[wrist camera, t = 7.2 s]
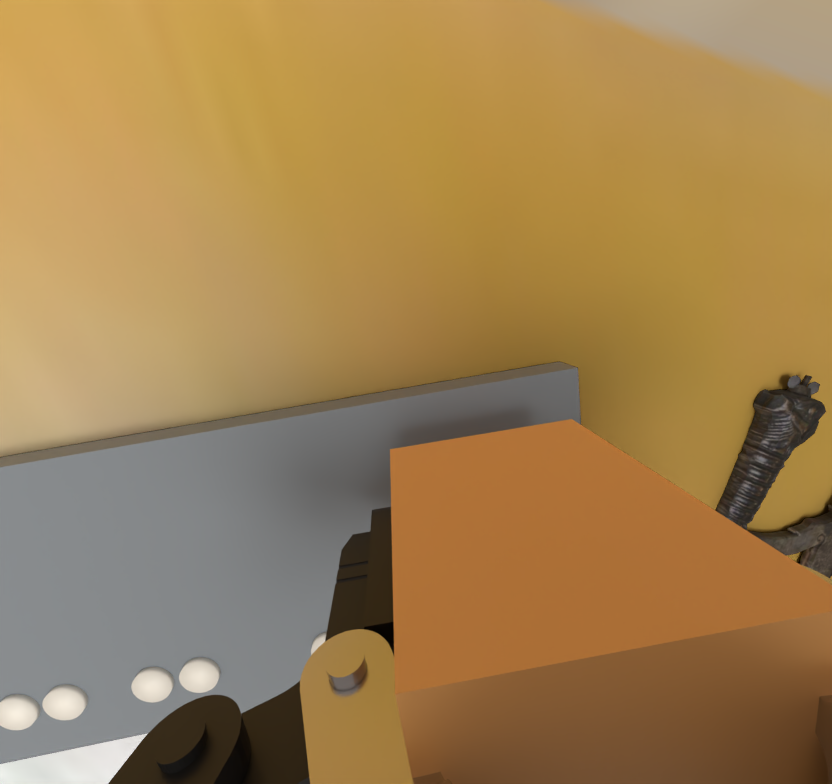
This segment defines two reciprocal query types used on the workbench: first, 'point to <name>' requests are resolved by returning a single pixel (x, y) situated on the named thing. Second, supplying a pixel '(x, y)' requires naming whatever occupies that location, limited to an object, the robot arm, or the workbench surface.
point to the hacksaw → (763, 459)
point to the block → (594, 622)
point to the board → (206, 550)
